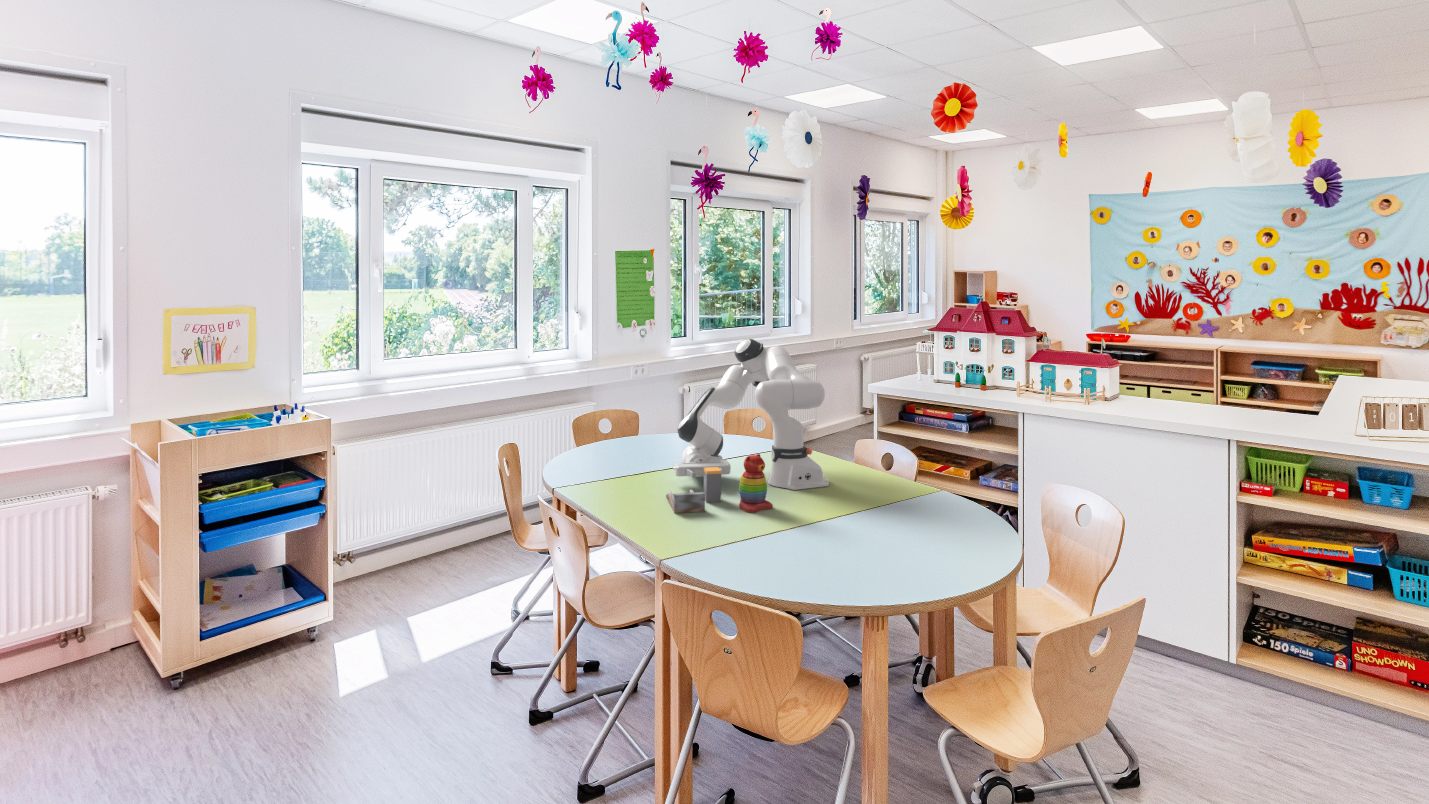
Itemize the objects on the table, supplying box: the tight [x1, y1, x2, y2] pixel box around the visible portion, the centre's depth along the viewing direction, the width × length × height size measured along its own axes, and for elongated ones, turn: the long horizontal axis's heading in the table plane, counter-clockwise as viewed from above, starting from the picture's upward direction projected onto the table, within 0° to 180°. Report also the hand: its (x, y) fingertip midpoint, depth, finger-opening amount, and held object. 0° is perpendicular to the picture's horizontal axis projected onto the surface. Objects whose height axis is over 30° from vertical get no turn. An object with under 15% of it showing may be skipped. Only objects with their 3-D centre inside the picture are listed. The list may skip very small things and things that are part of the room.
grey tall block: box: [703, 467, 722, 504], centre depth 262 cm, size 5×5×11 cm
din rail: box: [665, 489, 706, 514], centre depth 257 cm, size 10×18×6 cm, turn 12°
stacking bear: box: [738, 453, 774, 514], centre depth 254 cm, size 11×10×18 cm
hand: (706, 474), depth 271 cm, fingers open, 8 cm apart
